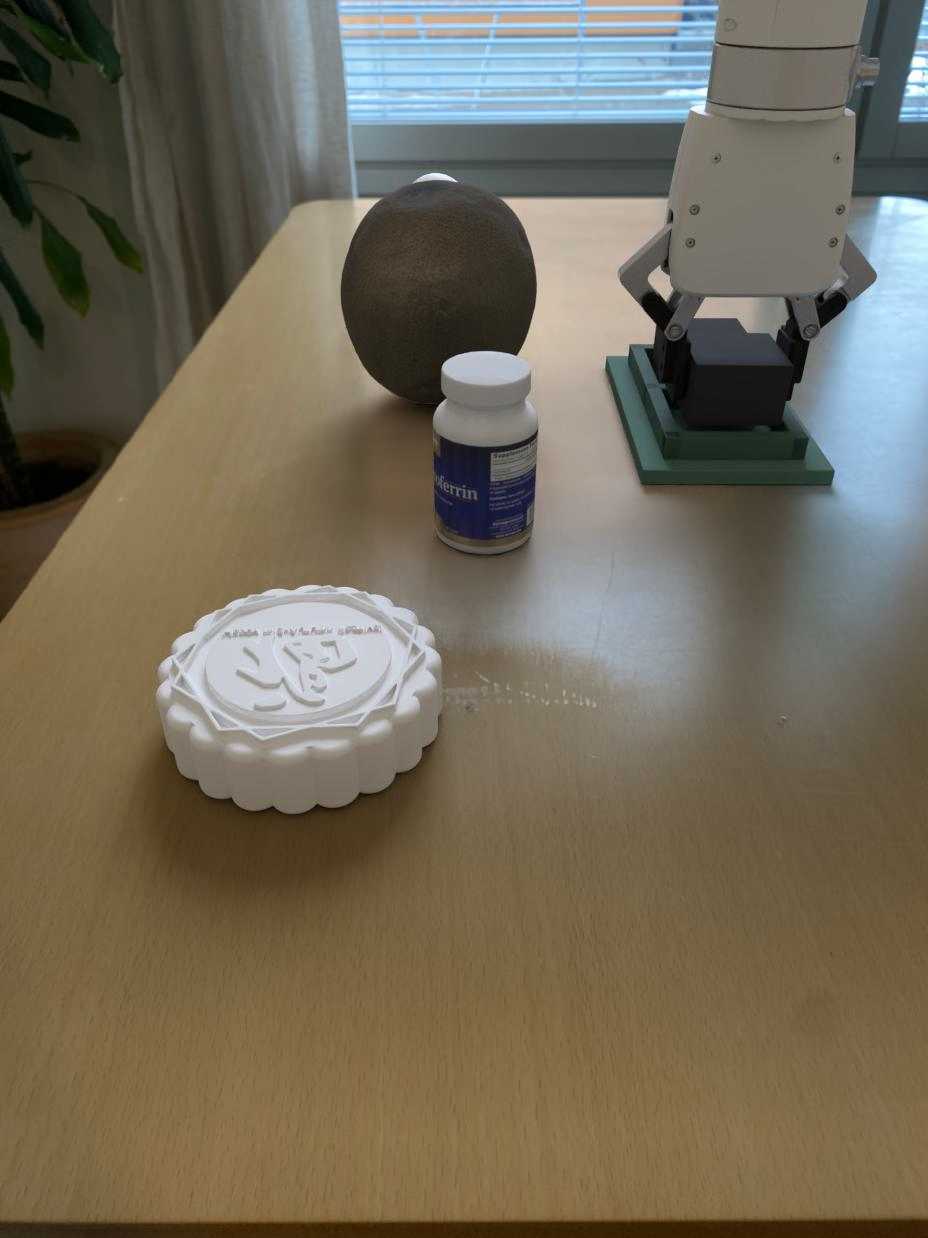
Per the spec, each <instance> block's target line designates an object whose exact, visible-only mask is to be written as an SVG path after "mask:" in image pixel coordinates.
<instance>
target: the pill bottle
mask: <svg viewBox="0 0 928 1238" xmlns="http://www.w3.org/2000/svg"><path fill="white" fill-rule="evenodd" d="M441 389H442V392H443V393H444V395H445V396H446V399H445V400H444V401H443V402H442V403H441V404H438V406H437V407H436V409H435V411H434V413H433V418H432V457H433V459H432V460H433V463H432V464H433V466H432V469H433V471H432V473H433V509H434V512H433V513H434V516H433V517H434V527H435V532H436V535H437V536H438V537H439V538H440V540H441V541H442V542H443V543H444V544H446V545H448V546H449V547H451V548H453V549H455V550H458V551H461V552H463V553H467V554H474V555H475V554H476V555H497V554H503V553H506V552H509V551H512V550H515V549H517V548H518V547H521V546H522V545H524V543H526V542H527V540H528V539H529V538H530V536H531V535H532V532H533V529H534V521H535V507H536V505H535V504H536V483H537V464H538V463H537V462H538V443H539V440H538V439H539V416H538V414H537V411H536V410H535V408H534V406H533V405H532V404H531V403H530V402H529V401H528V400H526V399H527V397H528V396H529V395H530V393H531V390H532V367H531V365H530V364H529V363H528V362H527V361H526V360H525V359H524V358H522V357H519V356H518V355H517V356H514V355H511V354H507V353H502V352H492V351H479V352H469V353H464V354H460V355H457V356H454V357H452V358H450V359H448V360H447V361H446V362H445V363H444V364H443V366H442V370H441Z"/></svg>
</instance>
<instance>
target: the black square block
mask: <svg viewBox="0 0 928 1238" xmlns="http://www.w3.org/2000/svg"><path fill="white" fill-rule="evenodd" d="M687 329H688V332H712V333H748V332H747V330H746V329H745V327H744V326H743V324H742V323H741V321H740V320H739V319H738V318H737V317H694V318H693V320H692V321H691V323H690V325H689V327H688V328H687ZM662 337H663V331H662V330H661V329H660V328H659V327H658V326H657V325H656V324H655V330H654V338H653V344H654V347H653V355H652V363H651V366H652V368H653V371H654V373H655V376H656V378H657V380H658V383H659V384H660V382H659V378H658V370H659V361H660V353H661V345H662Z"/></svg>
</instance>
